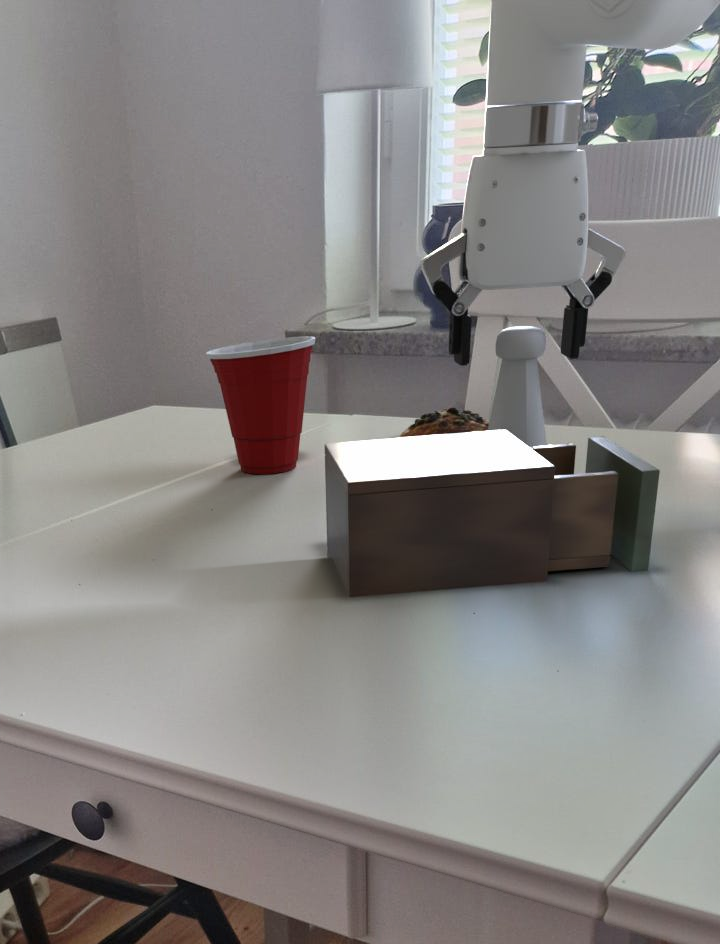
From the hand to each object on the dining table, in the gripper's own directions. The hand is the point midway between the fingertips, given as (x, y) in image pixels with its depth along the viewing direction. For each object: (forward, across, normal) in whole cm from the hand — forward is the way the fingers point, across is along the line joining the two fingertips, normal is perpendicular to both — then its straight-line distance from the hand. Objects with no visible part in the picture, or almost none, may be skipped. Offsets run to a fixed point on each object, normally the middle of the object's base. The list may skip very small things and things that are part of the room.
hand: (515, 359), depth 103 cm
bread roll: (+11, +2, -14) cm, 18 cm away
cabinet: (+10, +12, +26) cm, 31 cm away
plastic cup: (+11, +22, -13) cm, 27 cm away
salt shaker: (+11, 0, 0) cm, 11 cm away
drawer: (+9, +4, +26) cm, 28 cm away
